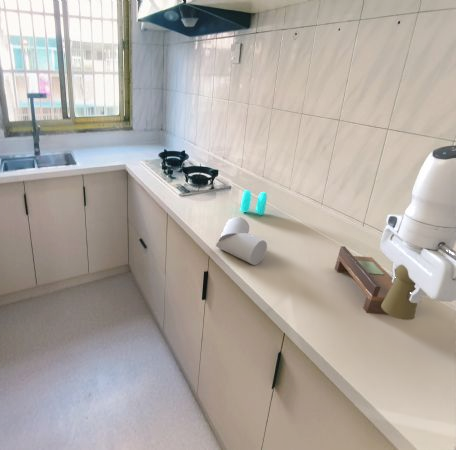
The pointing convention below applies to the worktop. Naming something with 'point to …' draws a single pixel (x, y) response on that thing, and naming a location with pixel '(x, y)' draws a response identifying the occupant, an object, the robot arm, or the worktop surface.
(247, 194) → the cyan twin rounded posts
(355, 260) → the shelf
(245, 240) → the bent grey cylinder
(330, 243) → the worktop surface
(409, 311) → the olive pawn shape
